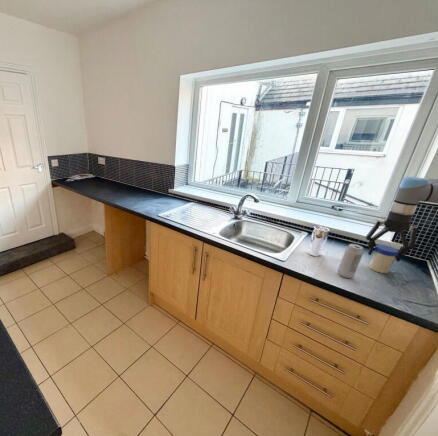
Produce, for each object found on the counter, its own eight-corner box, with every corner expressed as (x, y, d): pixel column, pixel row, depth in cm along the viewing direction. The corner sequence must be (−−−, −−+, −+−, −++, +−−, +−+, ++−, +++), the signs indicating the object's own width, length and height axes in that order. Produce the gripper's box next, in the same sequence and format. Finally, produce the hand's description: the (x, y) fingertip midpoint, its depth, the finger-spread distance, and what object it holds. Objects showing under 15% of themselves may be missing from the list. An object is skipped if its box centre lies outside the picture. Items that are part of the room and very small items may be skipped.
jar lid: (387, 248, 117) (388, 244, 117) (402, 256, 110) (403, 252, 109) (370, 248, 118) (371, 244, 117) (383, 255, 111) (385, 251, 110)
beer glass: (309, 248, 135) (316, 224, 130) (323, 254, 130) (332, 228, 125) (304, 253, 131) (311, 228, 125) (319, 258, 126) (327, 232, 120)
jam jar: (380, 265, 120) (388, 246, 117) (393, 273, 114) (401, 253, 110) (365, 264, 121) (372, 245, 117) (376, 272, 114) (384, 252, 110)
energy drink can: (343, 270, 115) (354, 242, 110) (356, 277, 110) (368, 248, 104) (333, 271, 114) (344, 244, 108) (346, 279, 109) (358, 250, 103)
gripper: (434, 215, 104) (413, 260, 112) (368, 205, 116) (352, 247, 124) (440, 220, 98) (417, 267, 106) (370, 209, 110) (354, 253, 118)
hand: (383, 257), depth 115 cm, fingers open, 9 cm apart
